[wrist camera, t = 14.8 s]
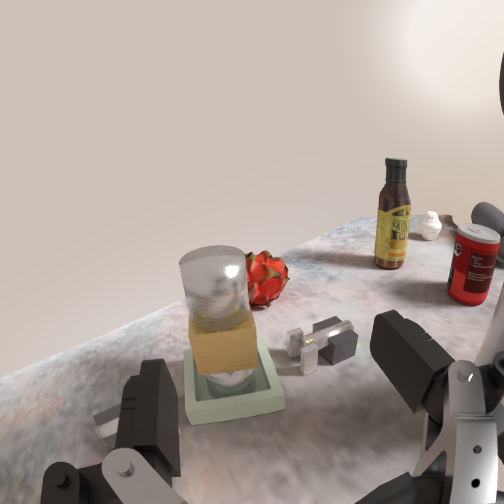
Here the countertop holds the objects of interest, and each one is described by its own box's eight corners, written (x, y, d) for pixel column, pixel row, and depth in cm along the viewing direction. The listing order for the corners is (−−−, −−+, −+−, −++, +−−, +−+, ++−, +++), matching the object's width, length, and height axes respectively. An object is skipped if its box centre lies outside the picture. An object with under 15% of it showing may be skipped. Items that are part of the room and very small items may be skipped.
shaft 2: (304, 377, 28) (305, 354, 27) (286, 353, 32) (285, 330, 31) (357, 353, 30) (361, 330, 29) (336, 334, 34) (338, 312, 33)
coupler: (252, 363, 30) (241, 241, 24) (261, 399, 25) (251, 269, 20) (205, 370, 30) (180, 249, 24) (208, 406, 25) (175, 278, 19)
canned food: (459, 279, 42) (469, 220, 38) (492, 296, 35) (506, 234, 31) (437, 291, 40) (448, 226, 36) (473, 312, 33) (491, 243, 29)
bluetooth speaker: (519, 271, 40) (529, 226, 36) (486, 267, 44) (494, 220, 41) (494, 237, 58) (499, 202, 54) (467, 233, 63) (471, 197, 59)
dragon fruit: (222, 323, 41) (280, 302, 49) (253, 311, 35) (315, 288, 42) (202, 269, 43) (262, 256, 51) (229, 247, 37) (294, 236, 44)
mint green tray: (263, 352, 33) (262, 336, 32) (285, 409, 24) (285, 394, 23) (188, 364, 31) (183, 349, 30) (191, 425, 23) (185, 411, 22)
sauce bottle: (390, 273, 47) (397, 160, 40) (366, 262, 53) (370, 156, 45) (411, 264, 50) (418, 160, 42) (388, 254, 55) (392, 156, 48)
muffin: (444, 242, 58) (447, 214, 56) (424, 243, 59) (427, 214, 56) (432, 233, 64) (435, 207, 61) (413, 234, 64) (415, 207, 62)
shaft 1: (161, 407, 25) (151, 385, 24) (183, 435, 22) (173, 414, 21) (103, 435, 21) (87, 414, 20) (119, 467, 18) (102, 449, 16)
